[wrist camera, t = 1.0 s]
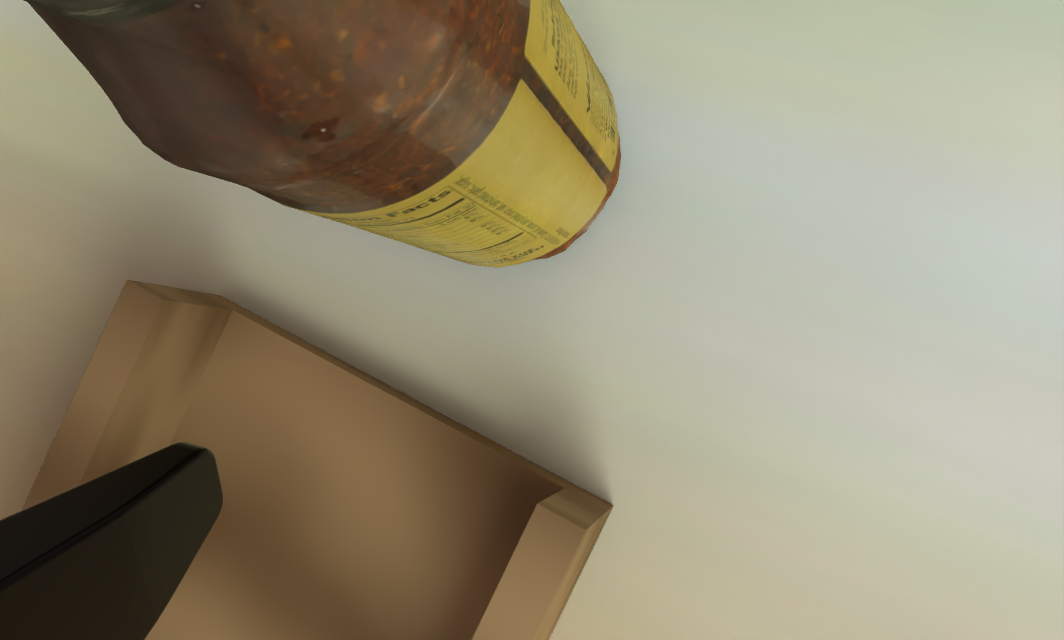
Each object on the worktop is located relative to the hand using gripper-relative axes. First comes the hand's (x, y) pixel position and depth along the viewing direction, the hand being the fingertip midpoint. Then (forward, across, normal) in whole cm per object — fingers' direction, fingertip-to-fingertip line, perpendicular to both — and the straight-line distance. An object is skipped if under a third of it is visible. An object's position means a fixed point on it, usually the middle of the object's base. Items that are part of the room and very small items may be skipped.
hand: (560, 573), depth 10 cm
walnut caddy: (+7, +9, +13) cm, 17 cm away
